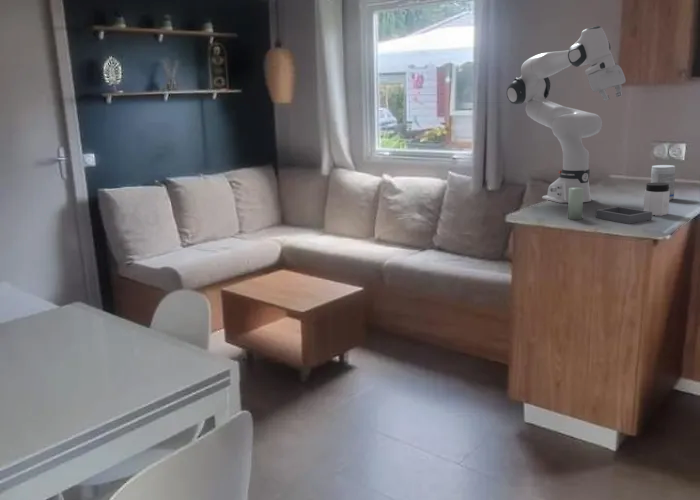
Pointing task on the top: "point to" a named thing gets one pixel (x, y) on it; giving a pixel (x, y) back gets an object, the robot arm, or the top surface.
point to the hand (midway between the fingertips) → (613, 98)
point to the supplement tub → (664, 176)
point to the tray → (623, 215)
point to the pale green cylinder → (575, 203)
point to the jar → (657, 198)
